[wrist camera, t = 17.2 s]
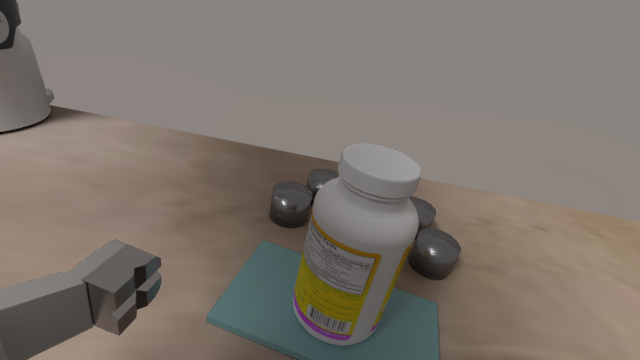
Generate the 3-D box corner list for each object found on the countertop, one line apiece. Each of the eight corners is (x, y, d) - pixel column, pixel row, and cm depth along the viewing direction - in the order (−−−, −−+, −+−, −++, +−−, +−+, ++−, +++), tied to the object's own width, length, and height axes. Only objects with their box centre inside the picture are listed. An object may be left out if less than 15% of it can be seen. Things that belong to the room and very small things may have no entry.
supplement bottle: (352, 271, 29) (398, 137, 23) (393, 338, 24) (466, 188, 18) (279, 283, 27) (309, 133, 20) (308, 361, 21) (359, 193, 15)
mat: (206, 321, 23) (206, 315, 23) (262, 244, 31) (262, 239, 31) (437, 417, 21) (441, 412, 20) (434, 307, 28) (437, 303, 28)
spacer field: (263, 219, 34) (266, 195, 33) (299, 173, 44) (304, 153, 43) (449, 285, 31) (462, 261, 30) (444, 220, 41) (453, 200, 40)
